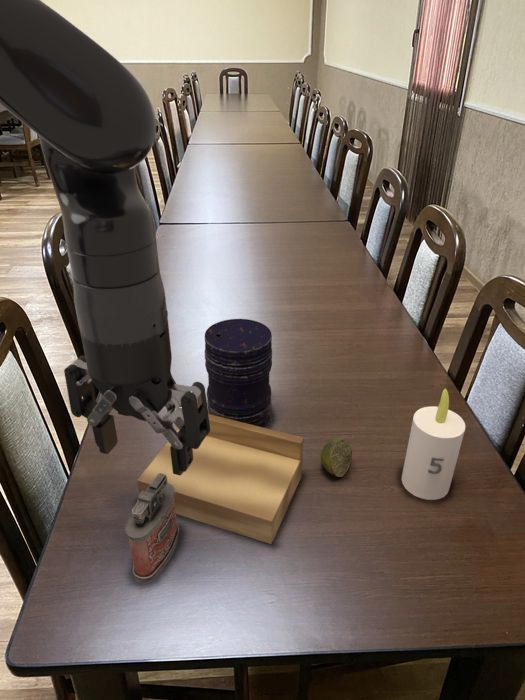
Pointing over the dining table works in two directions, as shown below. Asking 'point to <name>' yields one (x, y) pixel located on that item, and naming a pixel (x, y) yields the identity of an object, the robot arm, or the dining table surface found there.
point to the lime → (336, 456)
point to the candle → (433, 450)
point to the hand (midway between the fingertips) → (144, 458)
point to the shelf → (235, 478)
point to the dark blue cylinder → (239, 370)
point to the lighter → (153, 529)
